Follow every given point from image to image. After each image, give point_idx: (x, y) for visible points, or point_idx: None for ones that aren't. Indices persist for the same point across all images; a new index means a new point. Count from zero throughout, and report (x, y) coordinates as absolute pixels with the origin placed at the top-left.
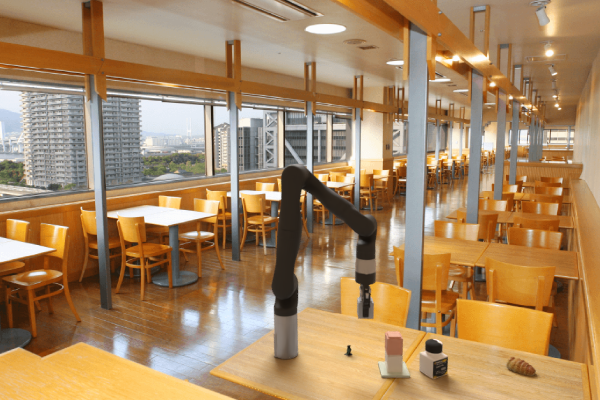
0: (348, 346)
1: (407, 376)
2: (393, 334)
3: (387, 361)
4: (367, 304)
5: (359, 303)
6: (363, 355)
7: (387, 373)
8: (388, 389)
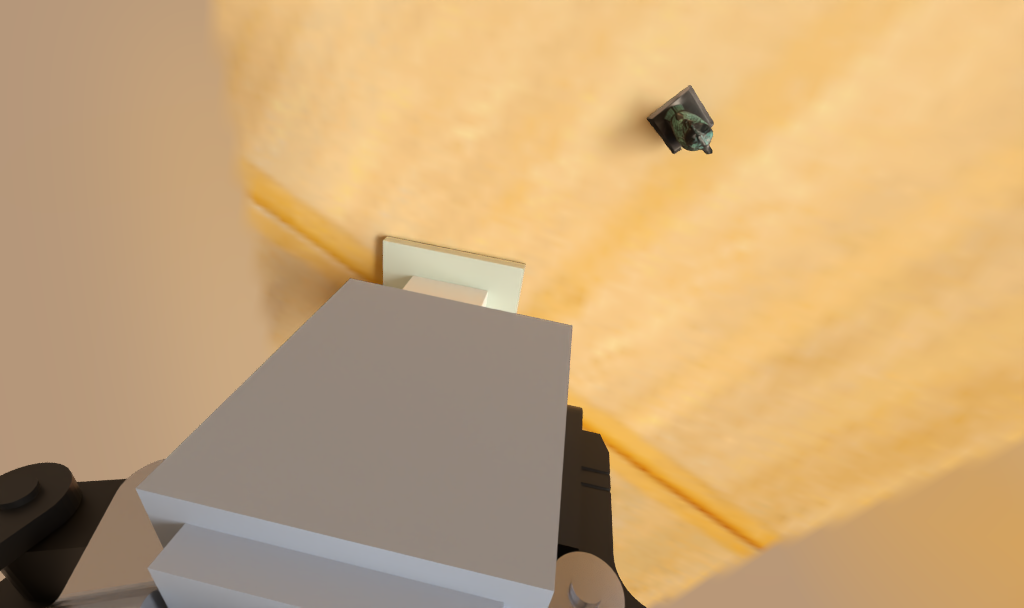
0: (688, 131)
1: None
2: None
3: None
4: (28, 590)
5: (159, 490)
6: (635, 216)
7: (401, 272)
8: (288, 231)
